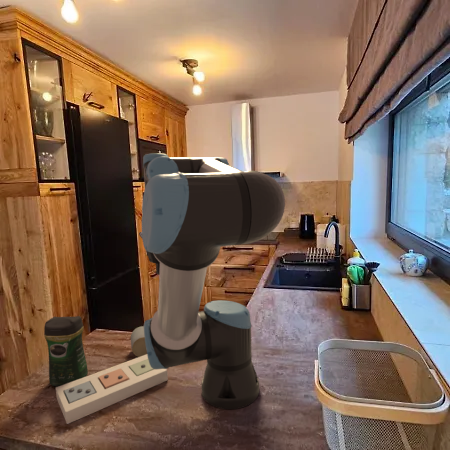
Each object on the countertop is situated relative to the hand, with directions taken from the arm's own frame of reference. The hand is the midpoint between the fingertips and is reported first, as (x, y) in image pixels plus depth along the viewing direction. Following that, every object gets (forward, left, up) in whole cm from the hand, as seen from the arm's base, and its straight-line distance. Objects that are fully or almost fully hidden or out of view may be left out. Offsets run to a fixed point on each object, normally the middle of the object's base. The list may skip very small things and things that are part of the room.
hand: (163, 283), depth 98 cm
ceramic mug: (+9, +3, -25) cm, 26 cm away
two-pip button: (-4, +18, -24) cm, 30 cm away
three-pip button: (-4, +27, -24) cm, 36 cm away
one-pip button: (-4, +10, -24) cm, 27 cm away
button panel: (-4, +18, -24) cm, 31 cm away
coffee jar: (+9, +27, -25) cm, 38 cm away
